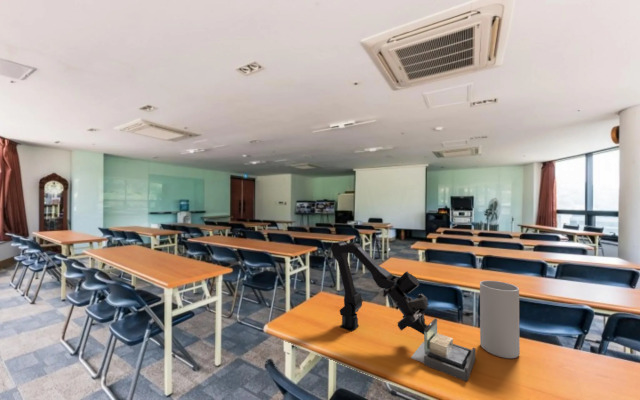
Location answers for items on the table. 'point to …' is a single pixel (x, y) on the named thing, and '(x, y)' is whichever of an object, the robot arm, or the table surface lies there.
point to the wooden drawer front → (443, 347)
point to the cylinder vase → (499, 318)
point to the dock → (445, 366)
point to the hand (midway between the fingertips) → (429, 336)
